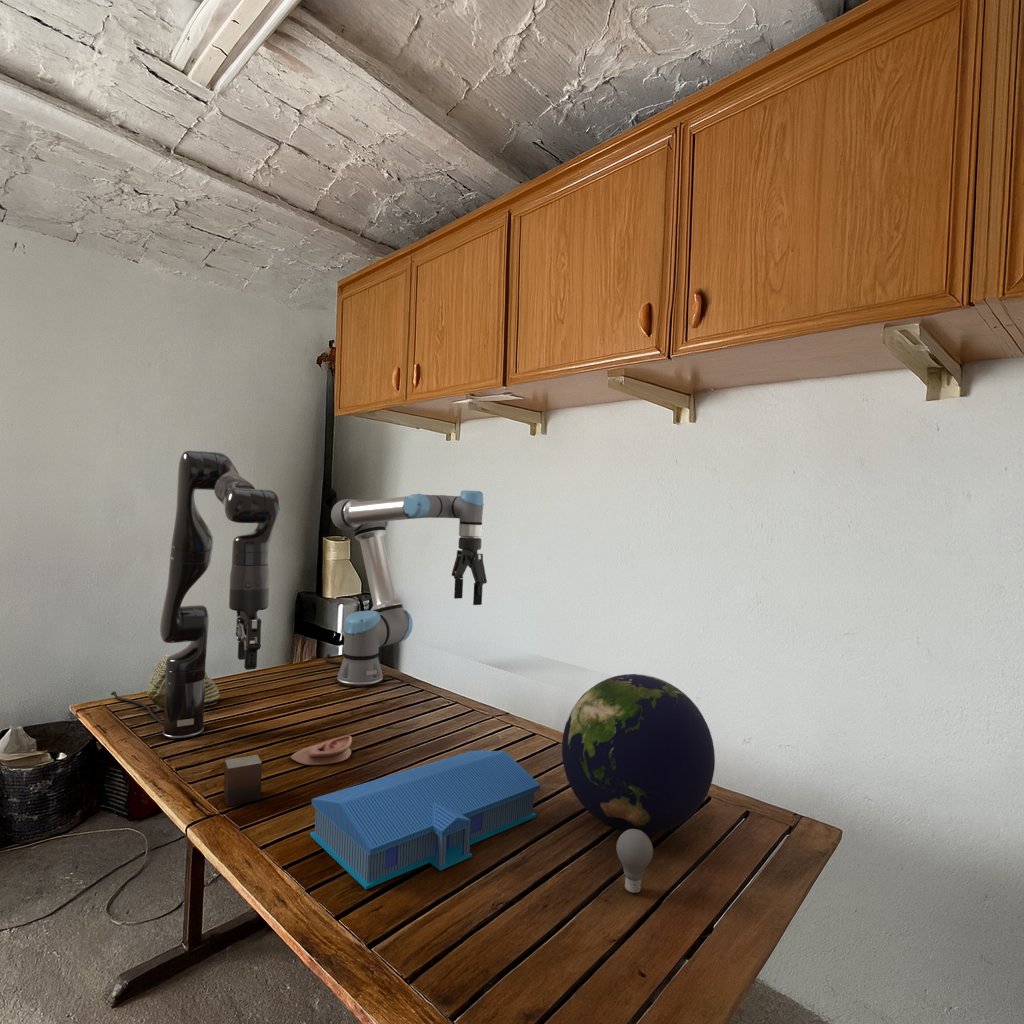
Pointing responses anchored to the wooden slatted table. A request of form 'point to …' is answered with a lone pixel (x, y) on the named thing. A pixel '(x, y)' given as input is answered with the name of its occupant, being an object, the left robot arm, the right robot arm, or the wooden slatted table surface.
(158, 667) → the fossil
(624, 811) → the globe
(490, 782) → the model building
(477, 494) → the right robot arm
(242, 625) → the left robot arm
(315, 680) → the wooden slatted table surface
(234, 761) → the block
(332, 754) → the anatomical model
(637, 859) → the light bulb
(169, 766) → the wooden slatted table surface
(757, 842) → the wooden slatted table surface
